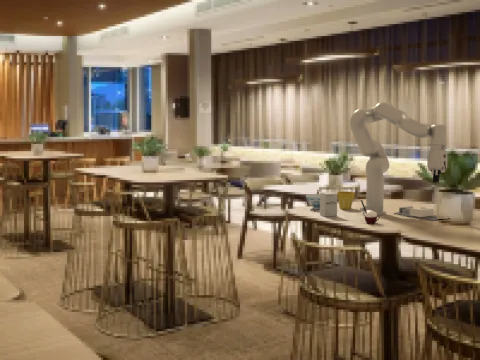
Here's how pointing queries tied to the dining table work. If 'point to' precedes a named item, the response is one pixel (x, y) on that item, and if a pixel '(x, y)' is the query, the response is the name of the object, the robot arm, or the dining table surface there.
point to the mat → (431, 218)
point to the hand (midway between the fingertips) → (435, 182)
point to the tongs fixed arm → (404, 210)
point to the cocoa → (370, 215)
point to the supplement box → (328, 204)
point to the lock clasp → (422, 212)
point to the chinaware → (314, 200)
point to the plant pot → (345, 199)
